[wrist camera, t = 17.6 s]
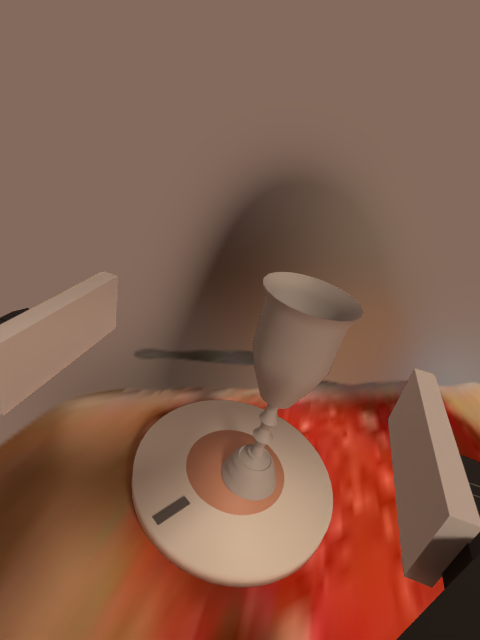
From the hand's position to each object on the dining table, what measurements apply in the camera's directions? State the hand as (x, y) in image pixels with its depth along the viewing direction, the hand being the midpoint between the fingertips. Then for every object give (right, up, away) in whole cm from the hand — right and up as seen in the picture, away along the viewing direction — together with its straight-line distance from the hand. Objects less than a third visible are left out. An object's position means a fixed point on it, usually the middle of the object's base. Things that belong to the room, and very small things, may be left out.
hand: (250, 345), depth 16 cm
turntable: (-1, -14, +18) cm, 23 cm away
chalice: (0, -13, +17) cm, 21 cm away
